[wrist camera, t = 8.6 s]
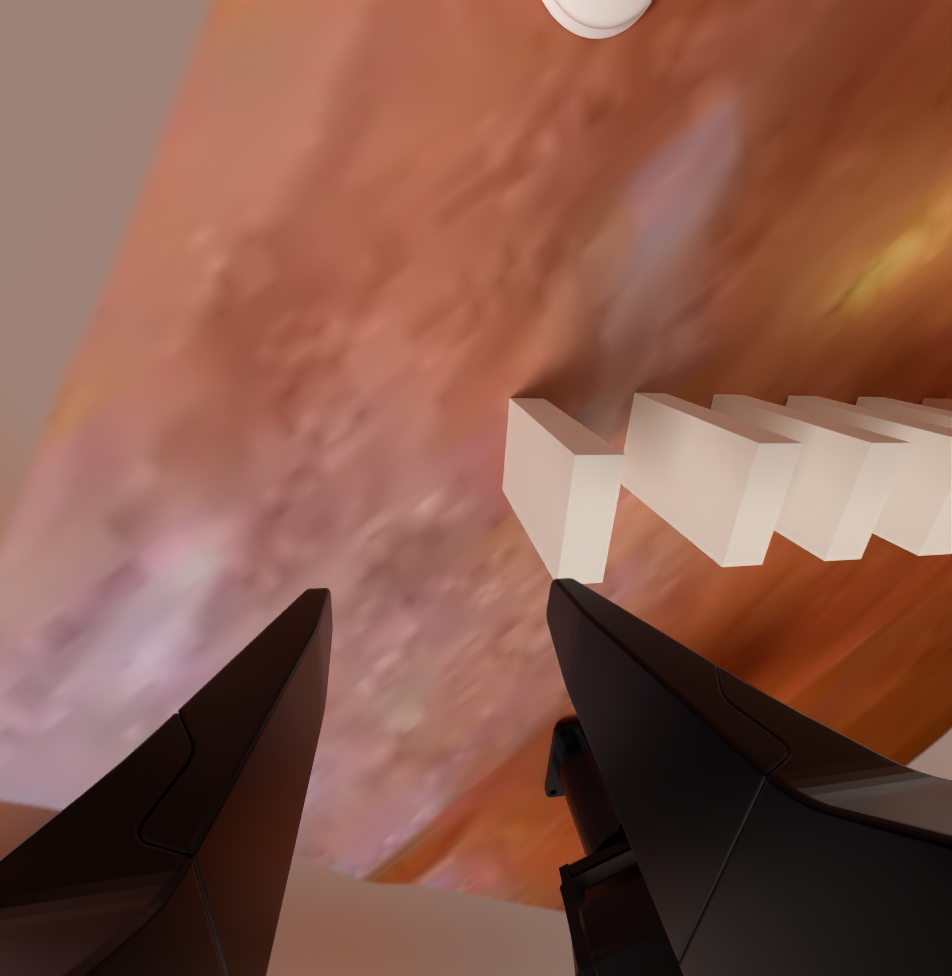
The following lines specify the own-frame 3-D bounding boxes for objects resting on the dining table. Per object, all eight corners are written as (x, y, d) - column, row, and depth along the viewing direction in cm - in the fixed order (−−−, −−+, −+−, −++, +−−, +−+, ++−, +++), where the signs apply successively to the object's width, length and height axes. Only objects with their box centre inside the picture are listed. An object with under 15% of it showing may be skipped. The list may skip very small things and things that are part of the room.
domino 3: (719, 479, 24) (860, 559, 17) (692, 479, 24) (824, 561, 17) (742, 394, 23) (911, 442, 15) (714, 394, 22) (871, 442, 15)
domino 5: (788, 478, 25) (951, 553, 18) (762, 478, 25) (918, 555, 17) (815, 395, 23) (1009, 442, 16) (788, 395, 23) (973, 442, 16)
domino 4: (852, 476, 26) (1034, 549, 18) (828, 477, 25) (1003, 550, 18) (883, 397, 24) (1097, 442, 17) (858, 396, 24) (1064, 442, 16)
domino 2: (647, 480, 24) (762, 564, 16) (618, 481, 23) (722, 567, 16) (665, 393, 22) (803, 443, 15) (634, 392, 21) (759, 443, 14)
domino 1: (533, 489, 23) (602, 582, 15) (502, 490, 22) (556, 585, 15) (543, 398, 21) (626, 454, 14) (509, 397, 21) (575, 455, 13)
